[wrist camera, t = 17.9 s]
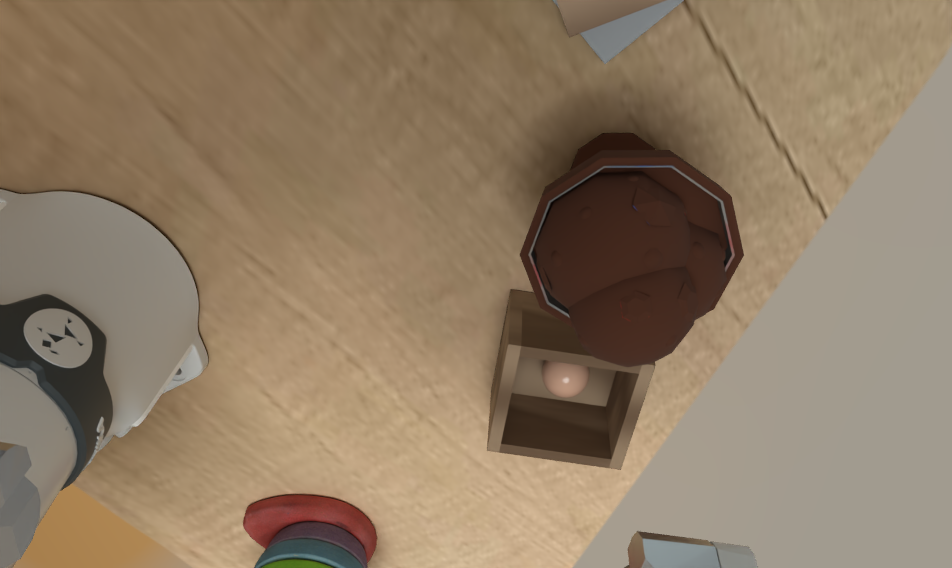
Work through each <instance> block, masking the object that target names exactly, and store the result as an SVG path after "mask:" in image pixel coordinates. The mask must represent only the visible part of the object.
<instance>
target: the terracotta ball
mask: <svg viewBox="0 0 952 568" xmlns="http://www.w3.org/2000/svg"><path fill="white" fill-rule="evenodd" d="M589 375H590V373H589V367H588V366H581V365H575V364H568V363H561V362H554V361H547V360H546V361H545V362H544V364H543V367H542V380H543V383H544V385H545V387H546V388H547V389H548V390H549V392H551V393H552V394H554V395H555V396H558V397H561V398H570V397H574V396H576V395H578V394H580V393H581V392H582V391H583V390H584V389H585V388H586V386H587V384H588V381H589Z"/></svg>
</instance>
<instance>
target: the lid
mask: <svg viewBox="0 0 952 568" xmlns="http://www.w3.org/2000/svg"><path fill="white" fill-rule="evenodd" d="M664 1H666V0H557V3H558V6H559V9H560V12H561V15H562V18H563V21H564V24H565V27H566V30H567V33H568V35H569V37H572V36H574V35H577V34H579V33H582V32H585V31H587V30H590V29H593V28H595V27H598V26H600V25H603V24H606V23H608V22H611V21H614V20H616V19H619V18H622V17H624V16H627V15H629V14H632V13H635V12H637V11H640V10H643V9H645V8H648V7H650V6H653V5H656V4H658V3H661V2H664Z"/></svg>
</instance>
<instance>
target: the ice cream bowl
mask: <svg viewBox="0 0 952 568" xmlns="http://www.w3.org/2000/svg"><path fill="white" fill-rule="evenodd" d="M743 256H744V254H743V249H742V244H741V239H740V235H739V230H738V225H737V221H736V216H735V211H734V207H733V202H732V197H731V196H730V195H729V194H728V193H727V192H726V191H725V190H724V189H723V188H722V187H721V186H719V185H718V184H716V183H715V182H714V181H712V180H711V179H709V178H708V177H707V176H705V175H704V174H702V173H701V172H700V171H698V170H697V169H695V168H694V167H693V166H691V165H690V164H688V163H687V162H685V161H684V160H683V159H681V158H680V157H678V156H677V155H676V154H674V153H673V152H671V151H670V150H655V148H653V147H652V146H650V145H649V144H647V143H646V142H645V141H643V140H642V139H640V138H639V137H638V136H636V135H635V134H633V133H603V134H601V135H600V136H598V137H597V138H595V139H594V140H592V141H591V142H589V143H588V144H586V145H585V146H583V147H581V148H580V149H578V152H577V154H576V157H575V159H574V162H573V165H572V167H571V170H570V171H569V172H568V173H566V174H564V175H563V176H561V177H560V178H558V179H557V180H555V181H554V182H552V183H551V184H549V185H548V186H546V187H545V190H544V192H543V194H542V197H541V199H540V202H539V205H538V207H537V210H536V213H535V216H534V218H533V221H532V224H531V226H530V229H529V232H528V234H527V237H526V240H525V242H524V245H523V248H522V250H521V253H520V257H521V259H522V262H523V264H524V267H525V270H526V272H527V275H528V277H529V280H530V283H531V285H532V288H533V290H534V293H535V296H536V298H537V301H538V303H539V306H540V308H541V309H543V310H544V311H546V312H548V313H549V314H551V315H553V316H554V317H556V318H558V319H559V320H561V321H563V322H564V323H566V324H567V325H569V326H571V327H572V328H574V330H575V333H576V335H577V337H578V340H579V341H580V343H581V345H582V347H583V349H584V350H585V351H587V352H588V353H589V354H591V355H592V356H593V357H595V358H597V359H600V360H603V361H606V362H610V363H613V364H616V365H620V366H624V367H633V366H639V365H646V364H651V363H653V362H655V361H657V360H659V359H661V358H663V357H665V356H667V355H668V354H670V353H672V352H673V351H674V349H675V348H676V347H677V346H678V344H679V343H680V342H681V341H682V339H683V338H684V337H685V336H686V334H687V333H688V332H689V330H690V329H691V328H692V326H693V325H694V320H696V319H698V318H700V317H702V316H704V315H705V314H706V313H707V312H709V311H711V310H713V309H714V308H715V306H716V304H717V302H718V301H719V299H720V297H721V295H722V293H723V292H724V290H725V288H726V286H727V285H728V283H729V281H730V279H731V277H732V276H733V274H734V272H735V270H736V268H737V267H738V265H739V263H740V261H741V260H742V258H743Z"/></svg>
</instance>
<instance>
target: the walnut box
mask: <svg viewBox="0 0 952 568" xmlns="http://www.w3.org/2000/svg"><path fill="white" fill-rule="evenodd" d="M546 360H547V361H554V362H561V363H568V364H575V365H581V366H588V367H589V373H590V375H589V381H588V384H587V386H586V388H585V389H584V390H583V391H582V392H581V393H580V394H578V395H576V396H574V397H570V398H561V397H558V396H555V395H554V394H552V393H551V392H549V390H548V389H547V388H546V387H545V385H544V383H543V380H542V367H543V364H544V362H545V361H546ZM654 369H655V362H653V363H651V364H646V365H639V366H633V367H624V366H620V365H616V364H613V363H610V362H606V361H603V360H600V359H597V358H595V357H593V356H592V355H591V354H589V353H588V352H587V351H585V350H584V349H583V347H582V345H581V343H580V341H579V340H578V337H577V335H576V333H575V330H574V328H572V327H571V326H569V325H567V324H566V323H564V322H563V321H561V320H559V319H558V318H556V317H554V316H553V315H551V314H549V313H548V312H546V311H544V310H543V309H541V308H540V306H539V303H538V301H537V298H536V296H535V293H532V292H525V291H519V290H512V289H511V291H510V296H509V301H508V306H507V312H506V317H505V322H504V327H503V332H502V338H501V343H500V348H499V353H498V358H497V364H496V369H495V374H494V379H493V384H492V390H491V401H490V416H489V430H488V444H487V451H493V452H500V453H507V454H514V455H521V456H528V457H535V458H542V459H549V460H556V461H563V462H570V463H577V464H584V465H591V466H598V467H605V468H611V469H618V470H621V467H622V464H623V461H624V459H625V456H626V453H627V450H628V447H629V444H630V441H631V438H632V435H633V432H634V429H635V426H636V423H637V420H638V417H639V414H640V411H641V408H642V405H643V402H644V399H645V396H646V393H647V390H648V387H649V384H650V381H651V378H652V375H653V372H654Z"/></svg>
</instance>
